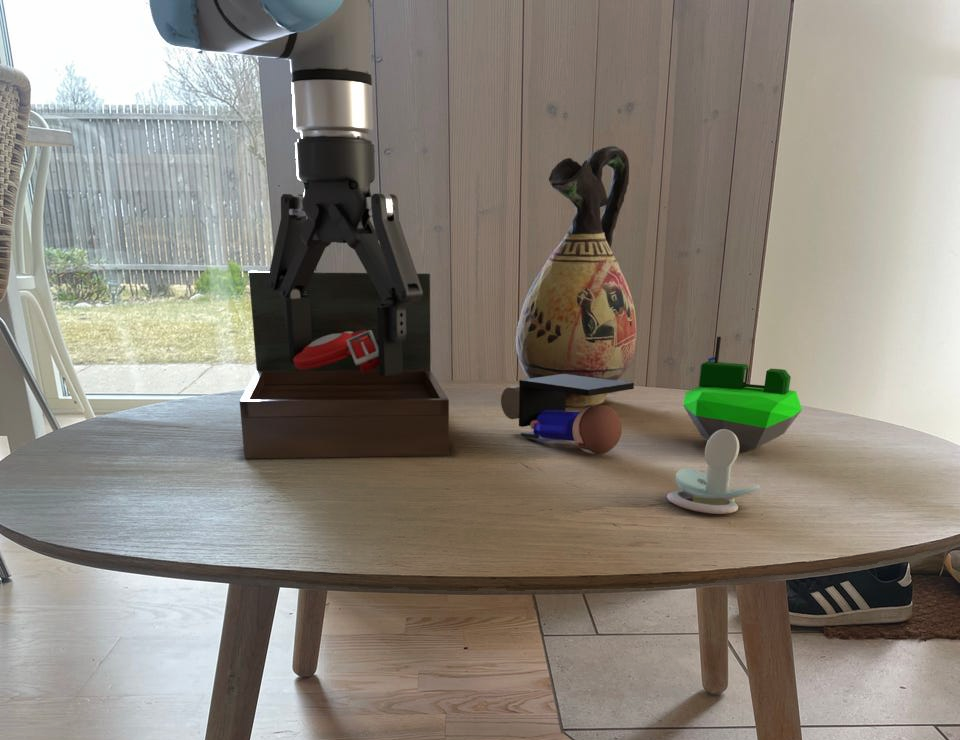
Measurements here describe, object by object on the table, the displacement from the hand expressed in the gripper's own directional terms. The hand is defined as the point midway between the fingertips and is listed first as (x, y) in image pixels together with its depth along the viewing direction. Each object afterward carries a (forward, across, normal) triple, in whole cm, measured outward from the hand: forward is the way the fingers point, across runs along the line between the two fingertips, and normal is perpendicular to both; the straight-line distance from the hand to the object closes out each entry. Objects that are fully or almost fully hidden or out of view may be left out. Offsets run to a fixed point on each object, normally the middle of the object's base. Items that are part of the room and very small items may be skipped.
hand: (344, 368), depth 97 cm
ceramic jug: (+7, -7, -36) cm, 37 cm away
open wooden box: (+7, 0, 0) cm, 7 cm away
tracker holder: (0, 0, 0) cm, 1 cm away
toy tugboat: (+7, -35, -23) cm, 42 cm away
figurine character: (+7, -20, -12) cm, 24 cm away
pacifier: (+7, -42, 0) cm, 43 cm away
